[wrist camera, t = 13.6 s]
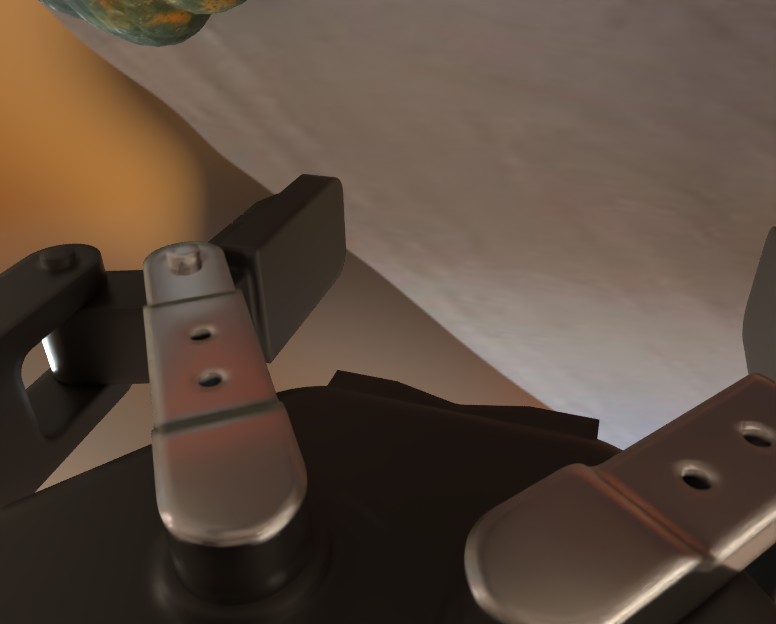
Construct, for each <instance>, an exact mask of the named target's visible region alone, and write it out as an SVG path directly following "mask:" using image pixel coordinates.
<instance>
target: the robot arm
mask: <svg viewBox="0 0 776 624" xmlns="http://www.w3.org/2000/svg"><path fill="white" fill-rule="evenodd" d="M345 256H346V241H345V222H344V202H343V189H342V184H341V182H340V180H339V179H338V178H336V177H327V176H318V175H309V174H302V175H300V176H299V177H298V178H297V179H296V180H295V181H293V182H292V183H291V184H290V185H289V186H287V187H286V188H285V189H284V190H283V191H282V192H280V193H279V194H275V195H273V196H270V197H268V198H266V199H263V200H261V201H258V202H256V203H255V204H254V205H253V206H251V207H250V208H249V209H248V210H247V211H245V212H244V215H240V216H239V217H238V218H237V219H236V220H234V221H233V224H230V225H228V226H227V227H226V228H225V229H223V230H222V231H221V232H220V233H219V234H217V235H216V236H215V237H214V238H212V239H211V240H210V241H209V242H208V243H206V242H181V243H176V244H171V245H168V246H165V247H162V248H160V249H158V250H155V251H154V252H152V253H151V254H150V255H149V256H147V257H146V258H145V260H144V262H143V270H129V271H105V268H104V264H103V260H102V256H101V253H100V251H99V250H98V249H97V248H95V247H93V246H90V245H85V244H65V245H58V246H53V247H49V248H45V249H42V250H40V251H37V252H35V253H32V254H30V255H29V256H27V257H25V258H24V259H22V260H21V261H20V262H18V263H16V264H15V265H13V266H12V267H10V268H9V269H7V270H6V271H4V272H3V273H1V274H0V624H776V226H773V227H772V228H771V230H770V231H769V234H768V236H767V239H766V242H765V245H764V248H763V252H762V255H761V258H760V262H759V265H758V268H757V272H756V275H755V278H754V282H753V285H752V289H751V292H750V295H749V299H748V302H747V306H746V310H745V315H744V321H743V332H742V335H743V344H744V350H745V356H746V362H747V368H748V374H749V375H748V376H746V377H744V378H743V379H741V380H739V381H738V382H736V383H734V384H733V385H731V386H729V387H728V388H726V389H724V390H723V391H721V392H719V393H718V394H716V395H714V396H713V397H711V398H709V399H708V400H706V401H704V402H703V403H701V404H700V405H698V406H696V407H695V408H693V409H691V410H690V411H688V412H686V413H685V414H683V415H681V416H680V417H678V418H676V419H675V420H673V421H671V422H670V423H668V424H666V425H665V426H663V427H661V428H660V429H658V430H656V431H655V432H653V433H651V434H650V435H648V436H646V437H645V438H643V439H642V440H640V441H638V442H637V443H635V444H633V445H632V446H630V447H628V448H627V449H625V450H621V449H619V448H617V447H615V446H613V445H611V444H609V443H606V442H604V441H601V440H599V439H597V436H598V427H599V419H593V418H588V417H583V416H577V415H572V414H567V413H562V412H556V411H551V410H545V409H541V408H535V407H530V406H528V407H527V406H491V405H490V406H489V405H460V404H455V403H452V402H449V401H447V400H444V399H441V398H439V397H436V396H434V395H431V394H429V393H426V392H423V391H421V390H418V389H415V388H413V387H411V386H408V385H405V384H402V383H400V382H398V381H393V380H387V379H383V378H377V377H372V376H367V375H361V374H356V373H351V372H346V371H340V370H337V372H336V373H335V375H334V376H333V378H332V379H331V381H330V382H329V384H328V385H327V386H313V387H302V388H295V389H290V390H286V391H281V392H277V393H276V391H275V389H274V385H273V383H272V379H271V376H270V373H269V371H268V368H267V365H266V363H271V362H272V361H273V360H274V358H275V357H276V356H277V355H278V353H279V352H280V351H281V350H282V348H283V347H284V346H285V344H286V343H287V342H288V341H289V339H290V338H291V337H292V336H293V334H294V333H295V332H296V331H297V329H298V328H299V327H300V326H301V324H302V323H303V322H304V320H305V319H306V318H307V317H308V316H309V314H310V313H311V312H312V310H313V309H314V308H315V307H316V305H317V304H318V303H319V302H320V300H321V299H322V298H323V297H324V295H325V294H326V293H327V292H328V290H329V289H330V288H331V287H332V285H333V284H334V283H335V282H336V280H337V279H338V278H339V276H340V274H341V272H342V269H343V266H344V262H345ZM40 341H42V342H43V345H44V348H45V351H46V354H47V357H48V360H49V363H50V366H51V368H49V369H48V370H47V371H46V372H45V373H44V374H43V375H42V376H41V377H39V378H38V379H37V380H36V381H35V382H34V383H33V384H32V385H30V386H29V387H28V388H27V389H26V390H25V387H24V384H23V381H22V377H21V368H22V364H23V361H24V358H25V356H26V355H27V354H28V352H29V351H30V350H31V349H32V348H33V347H35V346H36V345H37V344H38V343H39V342H40ZM141 383H150V390H151V400H152V413H153V424H154V429H153V430H152V433H151V435H152V436H151V438H152V444H150V445H148V446H146V447H143V448H141V449H138V450H136V451H133V452H131V453H129V454H126V455H124V456H122V457H119V458H117V459H114V460H112V461H110V462H107V463H105V464H102V465H100V466H98V467H95V468H93V469H91V470H88V471H86V472H83V473H81V474H79V475H76V476H74V477H72V478H69V479H67V480H64V481H62V482H60V483H58V484H55V485H53V486H51V487H48V488H45V489H43V490H41V491H38V492H36V490H37V489H38V488H39V487H40V486H41V485H42V484H43V483H44V482H45V481H46V480H47V478H48V477H49V476H50V475H51V474H52V473H53V472H54V471H55V470H56V469H57V468H58V466H59V465H60V464H61V463H62V462H63V461H64V460H65V459H66V458H67V457H68V456H69V455H70V453H71V452H72V451H73V450H74V449H75V448H76V447H77V446H78V445H79V444H80V442H82V440H83V439H84V438H85V437H86V436H87V435H88V434H89V432H91V431H92V430H93V428H94V427H95V426H96V425H97V424H98V423H99V422H100V421H101V420H102V419H103V418H104V416H105V415H106V414H107V413H108V412H109V411H110V410H111V409H112V408H113V407H114V406H115V405H116V403H117V402H118V401H119V400H120V399H121V398H122V397H123V396H124V395H125V394H126V393H127V391H128V390H129V389H130V387H131V385H132V384H141ZM35 492H36V493H35Z"/></svg>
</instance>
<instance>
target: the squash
mask: <svg viewBox="0 0 776 624" xmlns="http://www.w3.org/2000/svg"><path fill="white" fill-rule="evenodd" d="M39 1H40V2H42V3H43V4H45V5H47V6H49V7H51V8H53V9H55V10H57V11H59V12H61V13H63V14H66V15H68V16H71V17H74V18H79V19H83V20H86V21H87V22H89V23H90V24H92V25H93V26H95V27H96V28H99V29H101V30H103V31H106V32H108V33H110V34H113V35H115V36H118V37H120V38H122V39H124V40H127V41H129V42H132V43H135V44H139V45H148V46H156V47H160V46H166V45H175V44H178V43H181V42H184V41H185V40H187V39H188V38H190V37H191V36H193V35H195V34H196V33H197V32H198V31H200V29H201V28H202V27H203V26H204V25H205V23H206V22H207V20H208V19H209V17H210V16H211V14H212V13H218V12H223V11H227V10H229V9H231V8H233V7H235V6H238V5H240V4H242V3H244V2H245V1H246V0H39Z"/></svg>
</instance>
